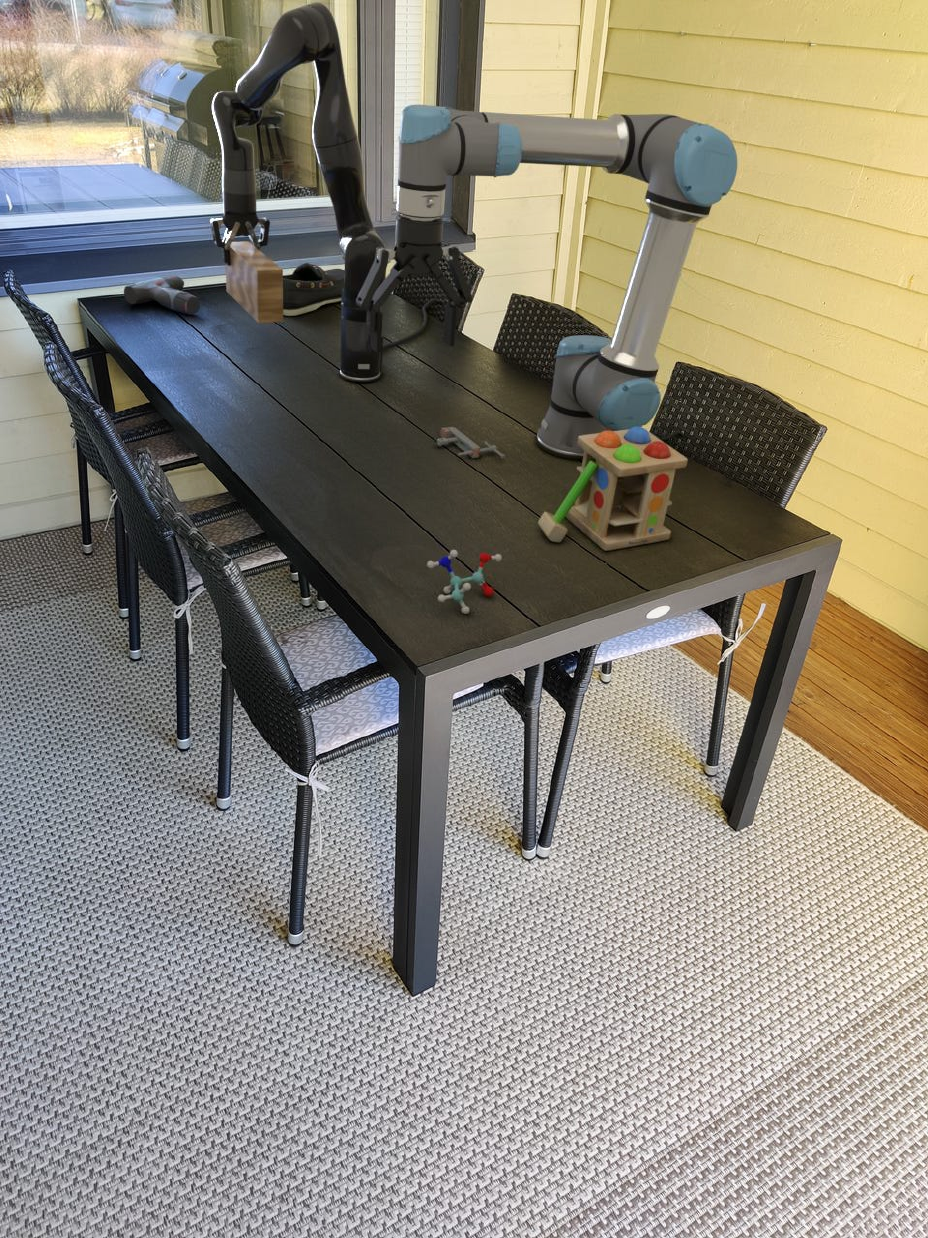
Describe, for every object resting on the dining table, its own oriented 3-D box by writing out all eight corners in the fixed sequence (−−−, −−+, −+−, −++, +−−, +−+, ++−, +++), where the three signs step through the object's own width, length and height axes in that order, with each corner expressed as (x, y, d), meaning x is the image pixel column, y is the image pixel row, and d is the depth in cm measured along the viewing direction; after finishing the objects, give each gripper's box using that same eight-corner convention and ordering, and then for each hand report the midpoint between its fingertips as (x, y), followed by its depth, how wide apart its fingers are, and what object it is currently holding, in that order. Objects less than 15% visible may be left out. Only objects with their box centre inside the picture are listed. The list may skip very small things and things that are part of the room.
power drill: (228, 285, 263) (174, 269, 271) (176, 299, 250) (121, 282, 258) (229, 305, 266) (176, 289, 274) (178, 320, 253) (123, 303, 261)
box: (226, 291, 239) (224, 241, 232) (249, 290, 241) (248, 241, 235) (258, 323, 222) (257, 270, 215) (283, 321, 224) (282, 269, 218)
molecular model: (493, 609, 147) (472, 545, 146) (437, 624, 151) (416, 563, 149) (514, 592, 158) (494, 533, 156) (461, 607, 161) (442, 549, 160)
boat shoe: (367, 296, 285) (368, 259, 280) (292, 317, 262) (291, 278, 256) (333, 288, 291) (332, 251, 286) (256, 308, 267) (254, 269, 262)
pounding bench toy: (563, 559, 168) (578, 464, 158) (523, 521, 178) (535, 429, 168) (671, 539, 177) (692, 448, 167) (627, 503, 188) (644, 416, 178)
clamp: (428, 429, 204) (470, 423, 208) (427, 439, 205) (469, 432, 209) (464, 459, 193) (507, 451, 198) (463, 469, 194) (506, 461, 199)
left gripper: (212, 192, 219) (216, 270, 228) (274, 192, 225) (275, 267, 234) (203, 185, 224) (207, 261, 233) (264, 185, 230) (265, 259, 240)
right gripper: (355, 223, 147) (352, 360, 159) (500, 219, 158) (487, 348, 170) (337, 211, 153) (335, 344, 165) (478, 208, 163) (467, 334, 175)
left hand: (241, 264), depth 234 cm, fingers closed on box, 6 cm apart
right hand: (412, 346), depth 167 cm, fingers open, 13 cm apart
